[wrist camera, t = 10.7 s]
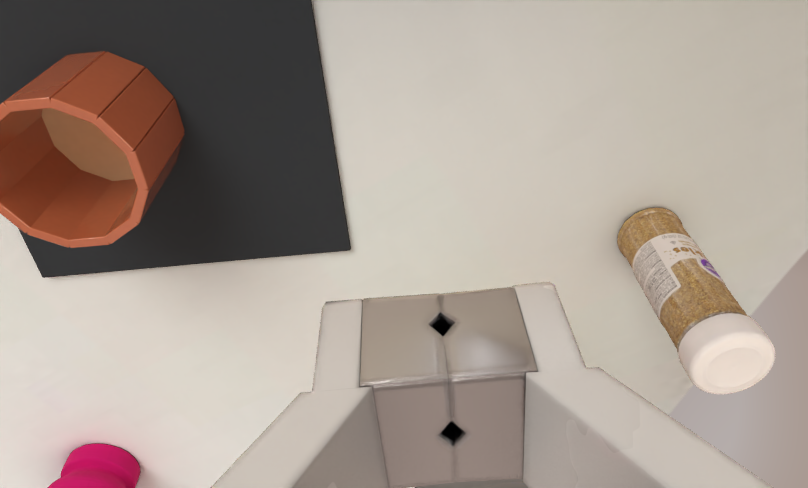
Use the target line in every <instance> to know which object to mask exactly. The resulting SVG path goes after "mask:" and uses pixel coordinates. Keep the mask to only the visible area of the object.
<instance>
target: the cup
mask: <svg viewBox="0 0 808 488" xmlns="http://www.w3.org/2000/svg"><path fill="white" fill-rule="evenodd" d="M173 97H174V96H173V95H172V94H171V93H170V92H169V91H168V90H167V89H166V88H165V87H164V86H163V85H162V84H161V83H160V82H159V80H158V79H157V78H156V77H155V76H154V75H153V74H152V73H151V72H150V71H149V70H148V69H147V68H145V67H144V66H142V65H139V64H137V63H134V62H132V61H130V60H127V59H125V58H122V57H120V56H117V55H115V54H112V53H110V52H105V51H99V52H89V53H79V54H69V55H67V56H64V57H63V58H62V59H60V60H59V61H58V62H56V63H55V64H54V65H52V66H51V67H50V68H48V69H47V70H46V71H44V72H43V73H41V74H40V75H39V76H37V77H36V78H35V79H33V80H32V81H31V82H29V83H28V84H27V85H25V86H24V87H23V88H21V89H20V90H18V91H17V92H16V93H14V94H13V95H12V96H10V97H9V98H8V99H6V100H5V101H4V102H2V103H1V104H0V213H1V214H2V215H3V216H4V217H6V218H7V219H8V220H9V221H11V222H12V223H13V224H14V225H15V226H17V227H18V228H19V229H20V230H22V231H23V232H24V233H27V232H28V233H27V234H28V235H30V236H33V237H37V238H40V239H43V240H46V241H49V242H52V243H55V244H58V245H61V246H64V247H67V248H69V247H70V248H77V247H89V246H100V245H109V244H112V243H113V242H115V241H116V240H118V239H119V238H120V237H122V236H123V235H125V234H126V233H127V232H129V231H130V230H131V229H133V228H134V227H136V226H137V225H138V224H139V223H140V221H141V220H142V218H143V216H144V215H145V213H146V211H147V210H148V208H149V206H150V205H151V203H152V201H153V200H154V198H155V196H156V195H157V193H158V191H159V190H160V188H161V186H162V185H163V183H164V181H165V180H166V178H167V176H168V175H169V173H170V171H171V170H172V168H173V167H174V165H175V163H176V161H177V158H178V155H179V151H180V148H181V145H182V141H183V138H184V135H185V133H184V132H185V131H184V127H183V124H182V121H181V117H180V114H179V111H178V107H177V104H176V100H175V98H173Z"/></svg>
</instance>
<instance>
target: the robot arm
mask: <svg viewBox="0 0 808 488" xmlns="http://www.w3.org/2000/svg"><path fill="white" fill-rule="evenodd" d="M507 479H523V482H524V483H525V484H526V486H527V487H528V488H773V487H772V486H770V485H769V484H768V483H766V482H765V481H763V480H762V479H760V478H759V477H757V476H756V475H755V474H753V473H752V472H750V471H749V470H747V469H746V468H744V467H743V466H741V465H740V464H738V463H737V462H736V461H734V460H733V459H731V458H730V457H728V456H727V455H725V454H724V453H723V452H721V451H719V450H718V449H717V448H715V447H714V446H712V445H711V444H709V443H708V442H706V441H705V440H703V439H702V438H701V437H699V436H698V435H696V434H695V433H693V432H692V431H691V430H689V429H688V428H686V427H685V426H683V425H682V424H680V423H679V422H677V421H676V420H675V419H673V418H672V417H670V416H669V415H667V414H666V413H664V412H663V411H662V410H660V409H659V408H657V407H656V406H654V405H653V404H651V403H650V402H648V401H647V400H646V399H644V398H643V397H641V396H640V395H638V394H637V393H635V392H634V391H632V390H631V389H630V388H628V387H627V386H625V385H624V384H622V383H621V382H619V381H618V380H616V379H615V378H614V377H612V376H611V375H609V374H608V373H606V372H605V371H603V370H602V369H600V368H599V367H593V368H586V366H585V363H584V361H583V358H582V355H581V353H580V350H579V348H578V345H577V342H576V340H575V337H574V335H573V332H572V329H571V327H570V324H569V322H568V319H567V316H566V314H565V311H564V309H563V306H562V304H561V301H560V298H559V296H558V293H557V291H556V288H555V285H553V284H552V283H551V282H541V283H533V284H524V285H515V286H512V287H508V288H497V289H486V290H476V291H465V292H454V293H444V294H424V295H409V296H394V297H380V298H365V299H364V300H362V299H355V300H343V301H330V302H326V303H325V305H324V306H323V308H322V314H321V322H320V331H319V339H318V347H317V355H316V364H315V372H314V380H313V388H312V392H303V393H300V394H299V395H298V396H297V397H296V398H295V399H294V400H293V401H292V402H291V403H290V404H289V405H288V406H287V407H286V409H285V410H284V411H283V412H282V413H281V414H280V415H279V416H278V417H277V418H276V419H275V420H274V421H273V422H272V423H271V424H270V425H269V427H268V428H267V429H266V430H265V431H264V432H263V433H262V434H261V435H260V436H259V437H258V438H257V439H256V440H255V441H254V442H253V443H252V444H251V446H250V447H249V448H248V449H247V450H246V451H245V452H244V453H243V454H242V455H241V456H240V457H239V458H238V459H237V460H236V461H235V462H234V464H233V465H232V466H231V467H230V468H229V469H228V470H227V471H226V472H225V473H224V474H223V475H222V476H221V477H220V478H219V479H218V480H217V481H216V483H215V484H214V485H213V486H212V487H211V488H408V487H417V486H426V485H435V484H444V483H454V482H455V480H456V482H471V481H489V480H507Z"/></svg>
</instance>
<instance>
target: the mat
mask: <svg viewBox="0 0 808 488" xmlns="http://www.w3.org/2000/svg"><path fill="white" fill-rule="evenodd" d="M99 51H105V52H110V53H112V54H115V55H117V56H120V57H122V58H125V59H127V60H130V61H132V62H134V63H137V64H139V65H142V66H144V67H145V68H147V69H148V70H149V71H150V72H151V73H152V74H153V75H154V76H155V77H156V78H157V79H158V80H159V82H160V83H161V84H162V85H163V86H164V87H165V88H166V89H167V90H168V91H169V92H170V93H171V94H172V95H173V96H174V97H173V98H175V100H176V104H177V107H178V111H179V114H180V117H181V121H182V124H183V127H184V131H185V132H184V133H185V135H184V138H183V141H182V145H181V148H180V151H179V155H178V158H177V161H176V163H175V165H174V167H173V168H172V170H171V171H170V173H169V175H168V176H167V178H166V180H165V181H164V183H163V185H162V186H161V188H160V190H159V191H158V193H157V195H156V196H155V198H154V200H153V201H152V203H151V205H150V206H149V208H148V210H147V211H146V213H145V215H144V216H143V218H142V220H141V221H140V223H139V224H138V225H137V226H136V227H134V228H133V229H131V230H130V231H129V232H127V233H126V234H125V235H123V236H122V237H120V238H119V239H118V240H116V241H115V242H113V243H112V244H109V245H100V246H89V247H77V248H70V247H69V248H67V247H64V246H61V245H58V244H55V243H52V242H49V241H46V240H43V239H40V238H37V237H33V236H30V235H28V234H27V233H28V232H27V233H24V232H23V231H22V230H20V229H19V228H18V229H19V231H20V233H21V235H22V237H23V239H24V241H25V243H26V245H27V247H28V249H29V251H30V253H31V255H32V257H33V259H34V261H35V263H36V265H37V267H38V269H39V271H40V273H41V275H42V277H43V278H44V277H55V276H67V275H78V274H89V273H100V272H112V271H123V270H134V269H145V268H156V267H168V266H179V265H190V264H201V263H213V262H224V261H235V260H246V259H257V258H269V257H280V256H291V255H302V254H314V253H325V252H336V251H347V250H350V249H351V246H350V240H349V234H348V227H347V221H346V215H345V209H344V202H343V196H342V190H341V184H340V177H339V171H338V165H337V159H336V152H335V146H334V140H333V134H332V127H331V121H330V115H329V109H328V102H327V96H326V90H325V84H324V77H323V71H322V65H321V59H320V52H319V46H318V40H317V33H316V27H315V21H314V15H313V8H312V2H311V0H0V104H1V103H2V102H4V101H5V100H6V99H8V98H9V97H10V96H12V95H13V94H14V93H16V92H17V91H18V90H20V89H21V88H23V87H24V86H25V85H27V84H28V83H29V82H31V81H32V80H33V79H35V78H36V77H37V76H39V75H40V74H41V73H43V72H44V71H46V70H47V69H48V68H50V67H51V66H52V65H54V64H55V63H56V62H58V61H59V60H60V59H62V58H63V57H64V56H67V55H69V54H79V53H89V52H99Z"/></svg>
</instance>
